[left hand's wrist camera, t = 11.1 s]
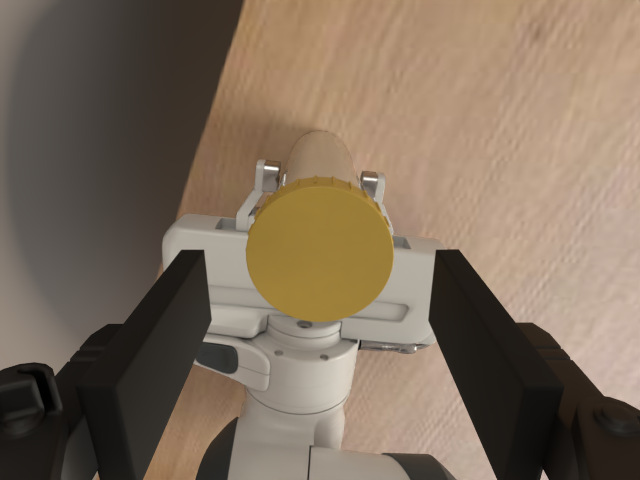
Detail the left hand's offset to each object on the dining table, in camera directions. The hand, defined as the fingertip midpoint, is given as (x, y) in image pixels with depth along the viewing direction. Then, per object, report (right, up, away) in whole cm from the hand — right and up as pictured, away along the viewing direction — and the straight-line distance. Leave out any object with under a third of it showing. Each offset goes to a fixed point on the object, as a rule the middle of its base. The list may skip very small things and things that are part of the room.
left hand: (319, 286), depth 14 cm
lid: (0, +1, +2) cm, 3 cm away
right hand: (0, +6, +14) cm, 15 cm away
